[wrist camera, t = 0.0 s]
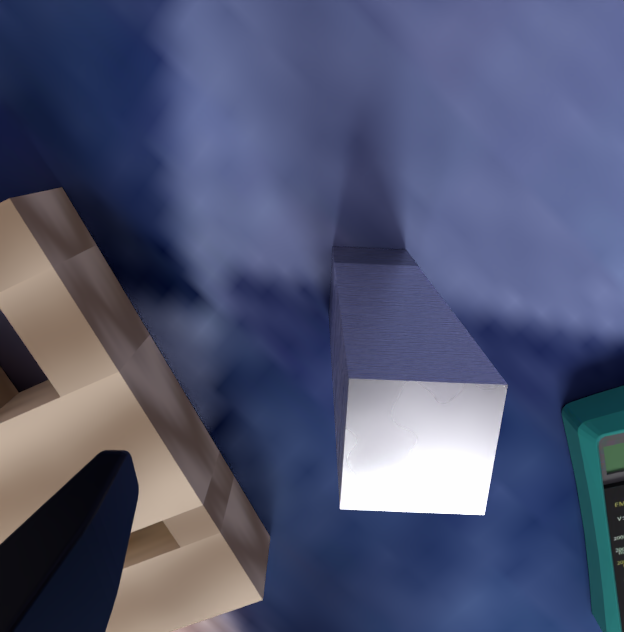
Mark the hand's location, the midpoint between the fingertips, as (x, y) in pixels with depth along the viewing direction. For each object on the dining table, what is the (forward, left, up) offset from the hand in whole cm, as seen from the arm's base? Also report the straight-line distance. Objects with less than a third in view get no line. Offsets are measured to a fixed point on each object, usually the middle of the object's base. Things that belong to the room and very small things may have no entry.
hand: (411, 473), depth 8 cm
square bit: (0, -1, -15) cm, 16 cm away
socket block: (-14, +4, -15) cm, 22 cm away
